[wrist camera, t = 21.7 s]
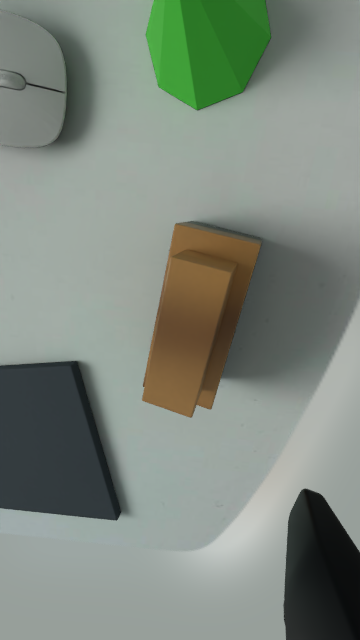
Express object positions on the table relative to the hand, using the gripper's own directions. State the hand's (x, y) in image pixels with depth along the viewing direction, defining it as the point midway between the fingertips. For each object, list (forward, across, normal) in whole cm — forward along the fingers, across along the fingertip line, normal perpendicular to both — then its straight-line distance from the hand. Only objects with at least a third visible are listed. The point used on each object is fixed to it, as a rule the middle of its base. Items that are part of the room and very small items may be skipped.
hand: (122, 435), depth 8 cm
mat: (+12, +14, +17) cm, 25 cm away
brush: (+12, 0, 0) cm, 12 cm away
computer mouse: (+12, +15, -9) cm, 21 cm away
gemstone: (+12, +3, -13) cm, 18 cm away
